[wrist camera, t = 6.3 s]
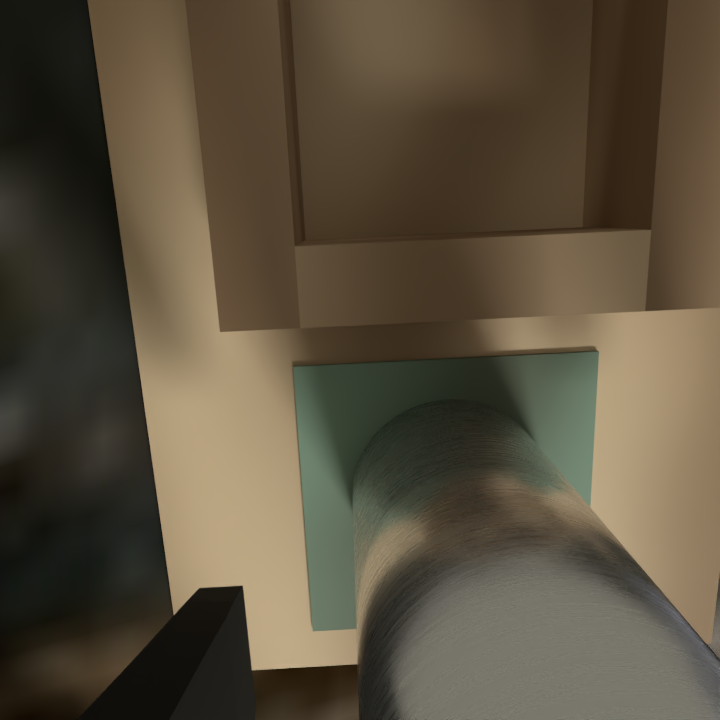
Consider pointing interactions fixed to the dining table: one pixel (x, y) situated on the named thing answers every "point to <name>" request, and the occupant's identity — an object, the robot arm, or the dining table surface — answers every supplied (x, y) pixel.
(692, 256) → the pocket board
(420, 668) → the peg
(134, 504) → the dining table surface
